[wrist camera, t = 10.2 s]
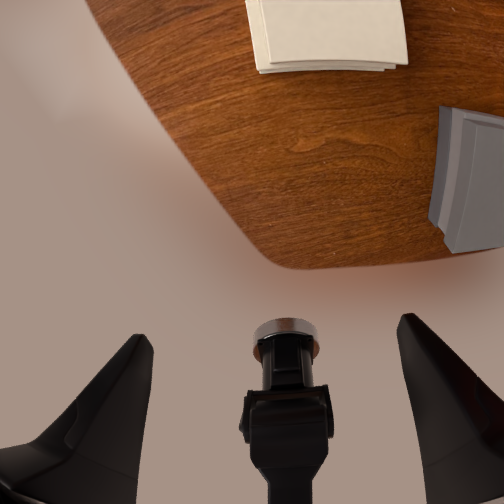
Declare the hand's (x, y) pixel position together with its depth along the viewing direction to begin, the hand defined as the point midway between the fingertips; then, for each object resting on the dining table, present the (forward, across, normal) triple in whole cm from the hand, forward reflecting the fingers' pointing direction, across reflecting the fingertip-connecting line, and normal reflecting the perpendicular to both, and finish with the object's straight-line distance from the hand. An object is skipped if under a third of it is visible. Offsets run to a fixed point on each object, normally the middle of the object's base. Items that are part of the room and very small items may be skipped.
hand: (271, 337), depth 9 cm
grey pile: (+12, -16, -1) cm, 20 cm away
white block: (+8, -4, -12) cm, 15 cm away
